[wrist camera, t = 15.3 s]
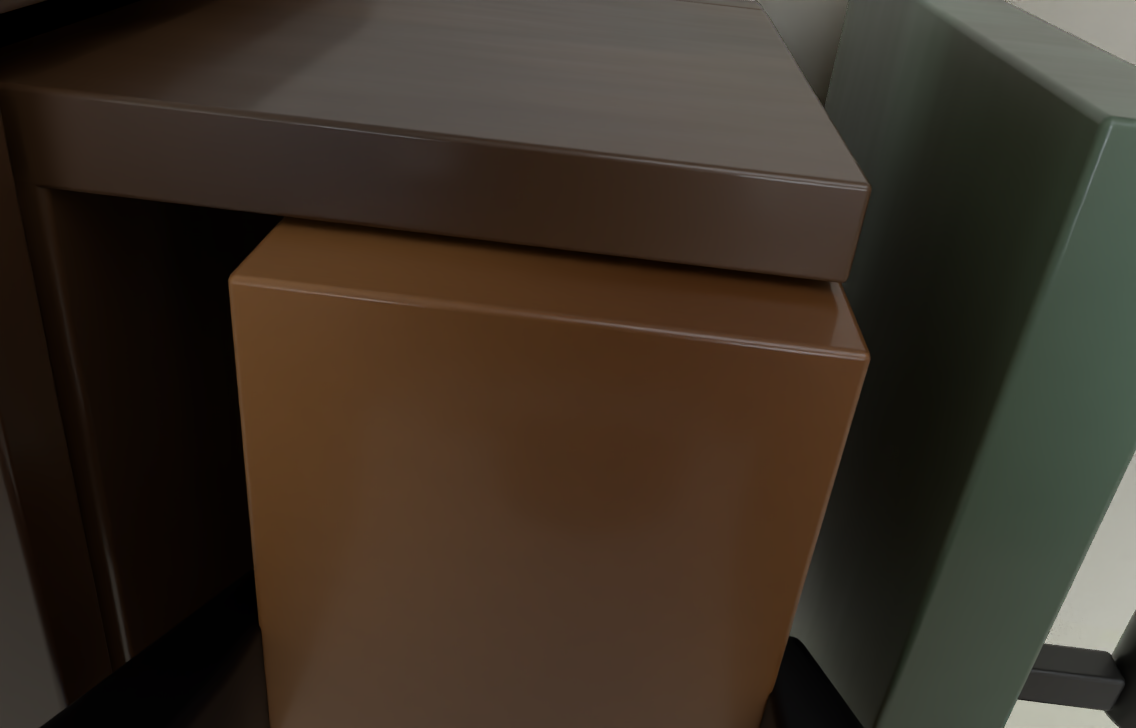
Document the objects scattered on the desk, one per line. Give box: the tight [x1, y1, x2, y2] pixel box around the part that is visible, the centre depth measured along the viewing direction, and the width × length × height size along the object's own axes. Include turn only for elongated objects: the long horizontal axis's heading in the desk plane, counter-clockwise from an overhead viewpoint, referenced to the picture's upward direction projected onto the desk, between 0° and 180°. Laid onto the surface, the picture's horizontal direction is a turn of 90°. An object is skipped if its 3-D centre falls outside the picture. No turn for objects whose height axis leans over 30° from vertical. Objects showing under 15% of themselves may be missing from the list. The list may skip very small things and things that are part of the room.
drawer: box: [0, 0, 1136, 728], centre depth 13 cm, size 14×11×9 cm
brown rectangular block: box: [228, 216, 871, 728], centre depth 9 cm, size 4×8×2 cm, turn 174°
